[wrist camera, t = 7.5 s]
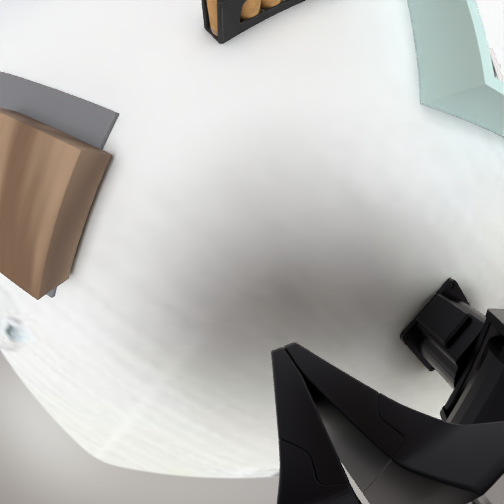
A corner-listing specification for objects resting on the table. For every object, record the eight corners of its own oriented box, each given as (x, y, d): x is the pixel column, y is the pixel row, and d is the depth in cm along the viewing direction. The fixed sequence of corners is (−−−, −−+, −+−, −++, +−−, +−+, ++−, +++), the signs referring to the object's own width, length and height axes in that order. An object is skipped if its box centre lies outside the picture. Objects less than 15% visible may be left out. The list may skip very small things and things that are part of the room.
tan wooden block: (81, 150, 12) (-18, 104, 11) (37, 300, 14) (-49, 229, 12) (113, 155, 16) (18, 111, 15) (70, 277, 18) (-14, 219, 16)
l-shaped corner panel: (509, 141, 18) (567, 141, 11) (417, 105, 17) (485, 84, 10) (494, 35, 15) (540, 18, 8) (401, -13, 14) (444, -54, 7)
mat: (119, 113, 16) (116, 112, 16) (54, 295, 19) (51, 297, 18) (2, 72, 14) (-1, 71, 13) (-43, 221, 17) (-45, 221, 16)
